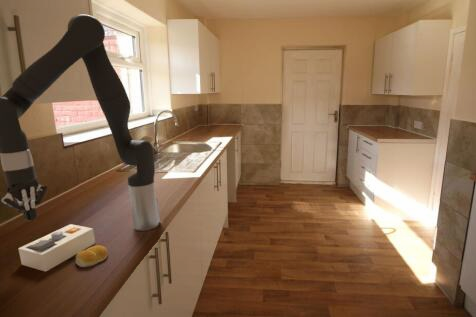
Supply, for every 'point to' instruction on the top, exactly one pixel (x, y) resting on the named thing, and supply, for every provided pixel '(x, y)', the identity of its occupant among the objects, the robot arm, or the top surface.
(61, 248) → the console
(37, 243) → the rocker
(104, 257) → the bread roll
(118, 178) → the top surface
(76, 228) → the orange button
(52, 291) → the top surface
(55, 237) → the grey button
